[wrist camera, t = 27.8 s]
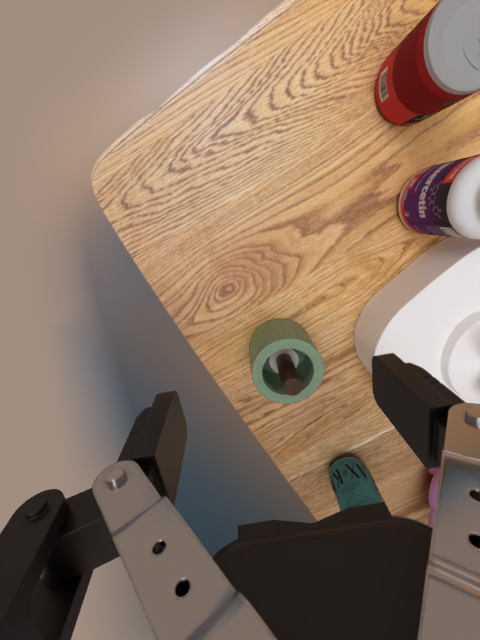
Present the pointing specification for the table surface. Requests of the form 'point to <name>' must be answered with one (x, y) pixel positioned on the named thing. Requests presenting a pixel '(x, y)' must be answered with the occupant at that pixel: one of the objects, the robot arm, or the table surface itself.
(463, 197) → the pill bottle
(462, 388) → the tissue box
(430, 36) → the red supplement tub
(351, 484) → the beverage bottle
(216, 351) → the table surface
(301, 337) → the jar
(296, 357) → the brown dowel with collar
